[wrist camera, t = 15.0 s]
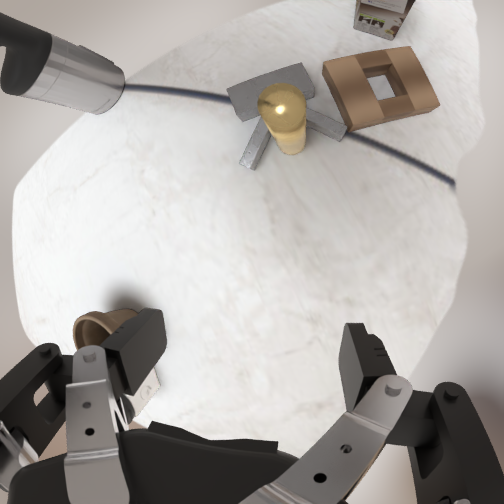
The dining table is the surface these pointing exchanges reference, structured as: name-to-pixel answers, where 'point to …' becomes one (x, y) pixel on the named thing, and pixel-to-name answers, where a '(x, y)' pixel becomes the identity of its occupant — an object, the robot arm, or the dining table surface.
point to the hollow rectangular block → (362, 96)
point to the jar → (140, 396)
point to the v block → (246, 108)
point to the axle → (284, 116)
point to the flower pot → (98, 326)
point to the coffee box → (381, 16)
